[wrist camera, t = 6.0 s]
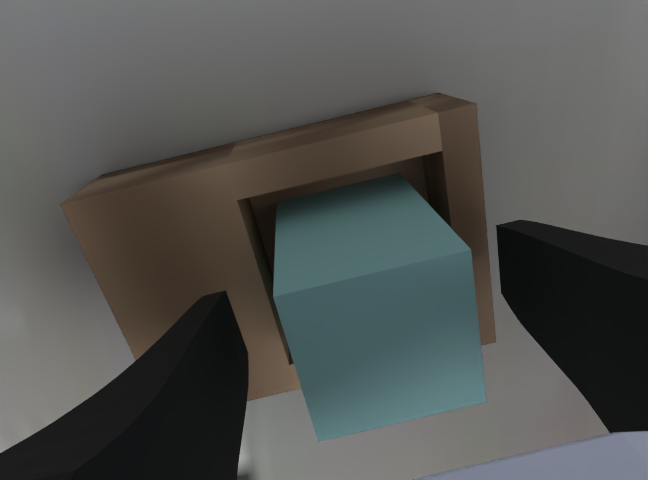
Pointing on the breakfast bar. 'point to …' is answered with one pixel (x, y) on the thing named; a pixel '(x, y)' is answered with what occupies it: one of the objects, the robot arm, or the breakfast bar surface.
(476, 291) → the walnut base
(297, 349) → the teal block
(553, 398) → the breakfast bar surface
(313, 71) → the breakfast bar surface
